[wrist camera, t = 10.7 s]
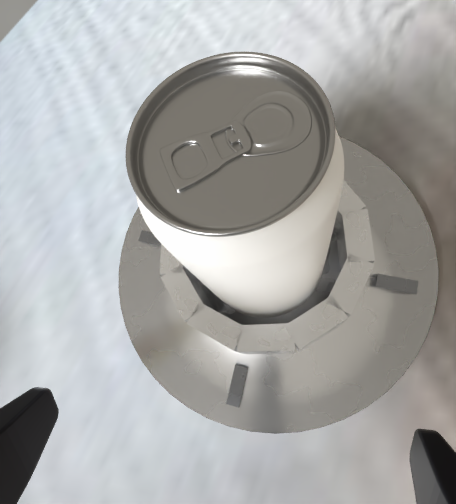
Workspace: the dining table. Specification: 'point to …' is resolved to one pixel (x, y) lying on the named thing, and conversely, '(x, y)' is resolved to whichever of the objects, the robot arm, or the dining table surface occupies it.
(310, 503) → the dining table surface
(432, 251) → the rosette
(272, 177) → the can
